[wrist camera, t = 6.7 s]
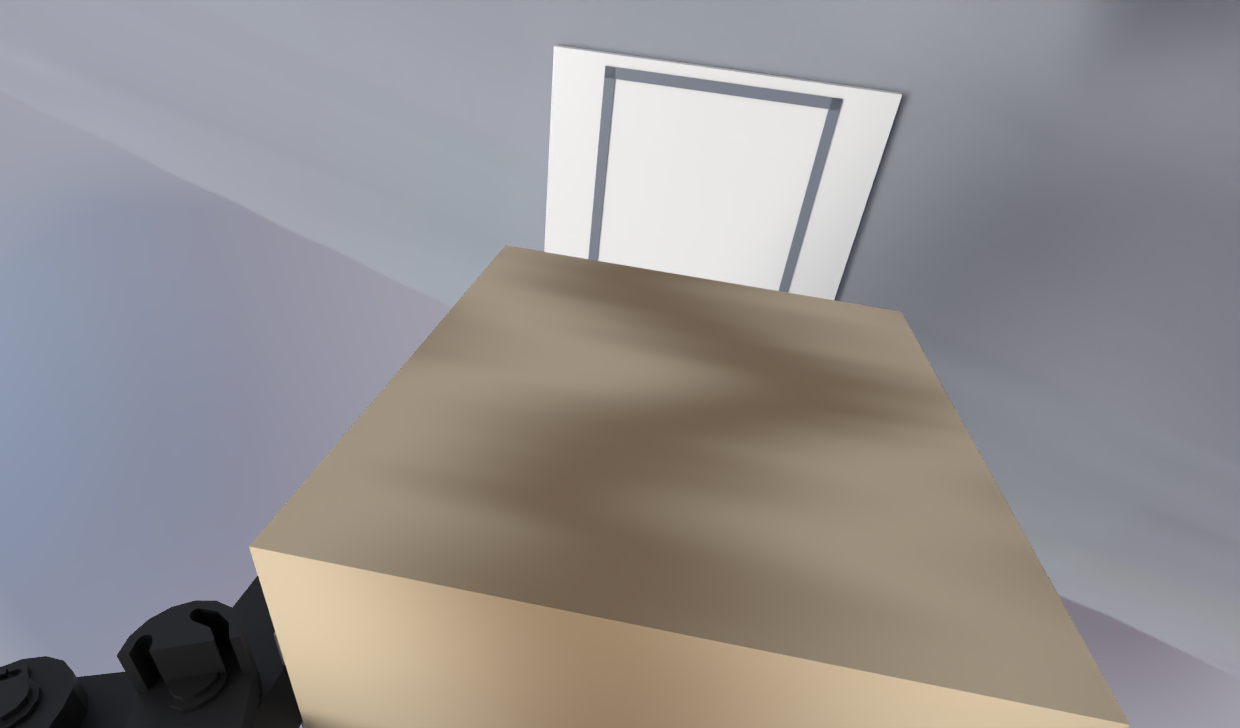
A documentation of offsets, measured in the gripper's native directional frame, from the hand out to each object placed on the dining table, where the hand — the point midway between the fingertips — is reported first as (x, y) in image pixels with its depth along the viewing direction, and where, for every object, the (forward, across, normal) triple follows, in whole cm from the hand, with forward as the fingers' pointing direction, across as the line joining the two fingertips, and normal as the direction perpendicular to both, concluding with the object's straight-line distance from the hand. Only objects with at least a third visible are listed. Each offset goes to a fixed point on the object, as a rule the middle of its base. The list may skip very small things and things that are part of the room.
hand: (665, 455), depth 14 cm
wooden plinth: (+1, 0, 0) cm, 1 cm away
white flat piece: (+21, 0, 0) cm, 21 cm away
